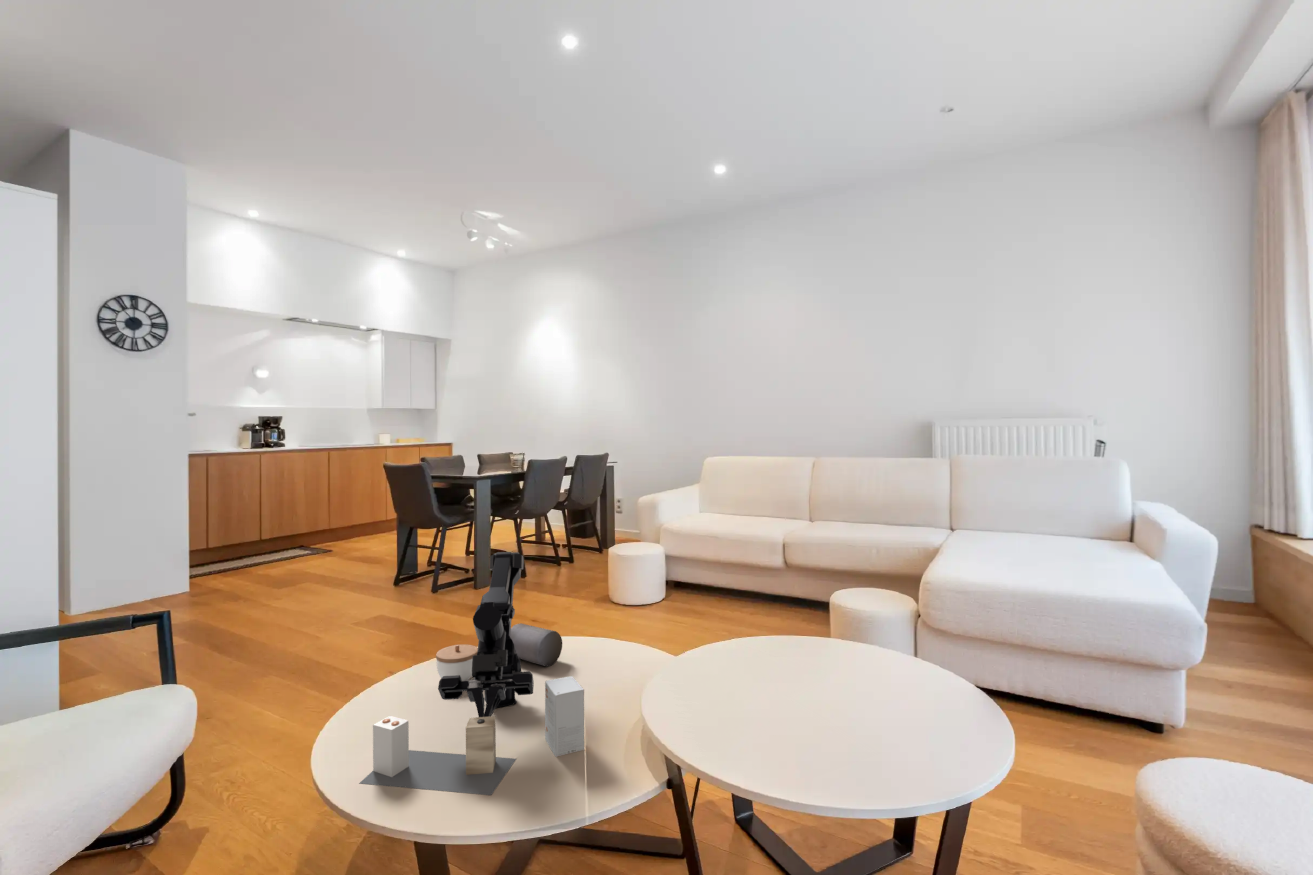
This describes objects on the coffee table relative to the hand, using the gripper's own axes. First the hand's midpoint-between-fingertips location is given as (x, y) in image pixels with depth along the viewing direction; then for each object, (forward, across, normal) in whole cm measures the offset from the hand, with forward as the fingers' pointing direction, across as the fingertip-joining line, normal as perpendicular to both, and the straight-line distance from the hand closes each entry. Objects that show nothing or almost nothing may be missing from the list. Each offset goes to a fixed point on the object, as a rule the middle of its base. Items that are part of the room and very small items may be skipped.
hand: (482, 728), depth 117 cm
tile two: (+5, -17, +5) cm, 19 cm away
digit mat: (+7, -8, +4) cm, 11 cm away
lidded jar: (-25, -13, +35) cm, 45 cm away
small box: (+2, +16, +8) cm, 18 cm away
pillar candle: (-33, +11, +36) cm, 50 cm away
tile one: (+6, 0, +3) cm, 7 cm away
